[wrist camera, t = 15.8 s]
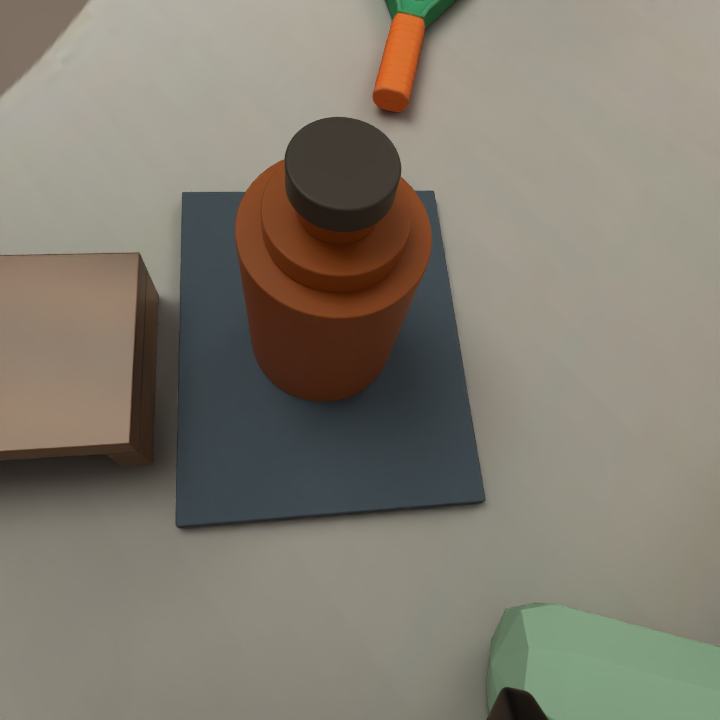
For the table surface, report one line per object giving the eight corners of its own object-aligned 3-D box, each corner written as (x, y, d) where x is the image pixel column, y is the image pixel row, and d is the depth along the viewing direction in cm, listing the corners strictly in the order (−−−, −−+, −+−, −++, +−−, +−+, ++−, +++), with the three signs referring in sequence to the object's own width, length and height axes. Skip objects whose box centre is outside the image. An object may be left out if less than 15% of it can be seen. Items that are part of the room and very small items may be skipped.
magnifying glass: (383, -77, 36) (387, -107, 35) (477, -53, 36) (485, -82, 35) (331, 102, 31) (333, 75, 29) (442, 129, 31) (450, 104, 29)
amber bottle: (358, 425, 24) (408, 303, 14) (225, 365, 24) (178, 201, 14) (410, 307, 26) (488, 126, 16) (289, 254, 26) (288, 42, 16)
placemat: (481, 502, 24) (485, 500, 23) (178, 528, 22) (175, 526, 21) (431, 197, 29) (434, 190, 28) (184, 199, 27) (181, 191, 27)
